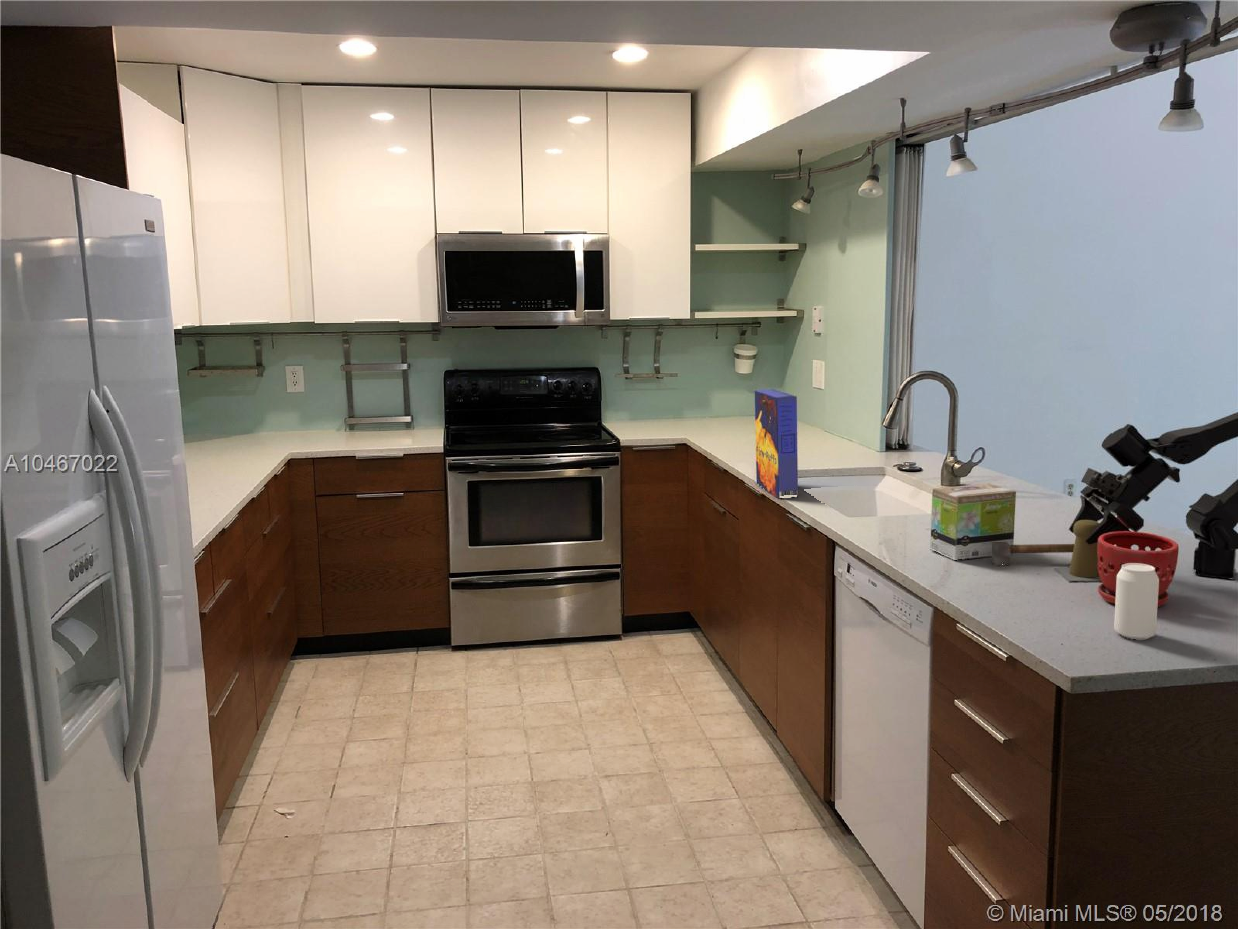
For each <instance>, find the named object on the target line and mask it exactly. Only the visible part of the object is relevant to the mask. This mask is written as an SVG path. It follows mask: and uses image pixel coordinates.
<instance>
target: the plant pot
mask: <svg viewBox="0 0 1238 929" xmlns="http://www.w3.org/2000/svg"><path fill="white" fill-rule="evenodd" d="M1133 546H1136V547H1137V548H1138V549H1132V547H1133ZM1146 548H1149V549H1150V550H1146ZM1157 549H1160V550H1157ZM1179 550H1180V549H1179V544H1178V543H1177V541H1175V540H1173V539H1172V538H1171V539H1170V538H1169V537H1165V536H1162V535H1158V534H1154V533H1147V532H1143V531H1142V532H1140V531H1138V532H1134V531H1132V530H1130V531H1118V532H1110V533H1105V534H1103V535H1101V536H1100V537H1099V538H1098V545H1097V555H1098V571H1099V575H1100V578H1101V580H1102V582H1101V584H1099V586H1098V587H1097V590H1098V591H1097V592H1098V594H1099V595H1100V597H1102V598H1103V599H1104V600H1105V601H1107V602H1109V603H1111V604H1114V605H1115V600H1116V580H1117V574H1118V573H1119V571H1120V570H1121V568H1122V565H1123V564H1127V563H1141V564H1147V565H1150V566H1153V567H1154V568H1155V572H1156V574H1157V576H1158V578H1159V589H1158V606H1157V608H1158V607H1161V606H1163V605H1164V604H1166V603H1167V602H1168V601H1169V597H1170V595H1169V593H1168V592H1167V590H1168V589H1169V587H1170V585H1171V584H1172V581H1173V579H1174V577H1175V573H1176V570H1177V566H1178V558H1179ZM1102 559H1103V560H1102Z"/></svg>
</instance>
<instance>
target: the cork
mask: <svg viewBox="0 0 1238 929" xmlns="http://www.w3.org/2000/svg"><path fill="white" fill-rule="evenodd" d="M1099 524H1100V522H1099V521H1097V522H1096V521H1092V520H1079V521H1077V522H1076V523H1075V524H1074V527H1073V532H1074V533H1073V534H1074V536H1075V540H1074V543H1073V544H1074V549H1073V552H1072V555H1071V561H1070V565H1069V567H1070V570H1069V573H1070V574H1072V575H1074V576H1078V577H1085V578H1096V577H1100V575H1099V571H1098V555H1097V545H1098V542H1096V543H1093V544H1090V545H1089V544H1088V543H1087V542H1086V541H1085V540H1086V539H1087V538H1088V536H1089V535H1090V534H1091V533H1092V532H1093V530H1094V529H1095V528H1096V527H1097V526H1098V525H1099Z"/></svg>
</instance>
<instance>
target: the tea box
mask: <svg viewBox="0 0 1238 929" xmlns="http://www.w3.org/2000/svg"><path fill="white" fill-rule="evenodd" d="M1016 500H1017V492H1016V491H1015V490H1014V489H1013V490H1012V489H1009V488H1006V487H1002V486H999V485H995V484H992V483H980V484H969V485H968V484H967V485H958V486H957V485H956V486H946V487H937V488H936V487H935V488H932V498H931V515H930V516H931V518H930V544H929V545H930V547H929V548H932V549H934V550H936V551H939V552H941V553H942V554H944V555H948V556H949V557H951V558H954V559H962V560H965V559H964V558H969V559H977V558H986V557H992V542H1007V543H1008V544H1009V545H1014V543H1015V541H1014V539H1015V522H1016V521H1015V518H1016V504H1017V503H1016ZM1012 554H1013V553H1010V555H1012Z"/></svg>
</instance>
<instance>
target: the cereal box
mask: <svg viewBox="0 0 1238 929" xmlns="http://www.w3.org/2000/svg"><path fill="white" fill-rule="evenodd" d="M797 398H798V396H797V395H793V394H789V393H787V392H782V391H780V390H775V389H769V388H768V389H767V388H764V389H758V390H754V419H755V422H754V423H755V424H754V425H755V426H754V427H755V431H754V432H755V465H756V466H755V471H756V472H755V473H756V479H755V480H756V484H757V483H758V484H759V486H762V488H761V489H762V490H763V488H764V489H765V490H764V491H765V492H767V493H768V494H770V495H771V496H773V498H776V499H777V500H780V499H779V497H780V496H784V495H798V496H799V481H798V480H799V477H798V476H799V475H798V473H799V472H798V470H799V469H798V468H799V466H798V462H799V461H798V459H799V458H798V399H797ZM759 486H758V487H759Z"/></svg>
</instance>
